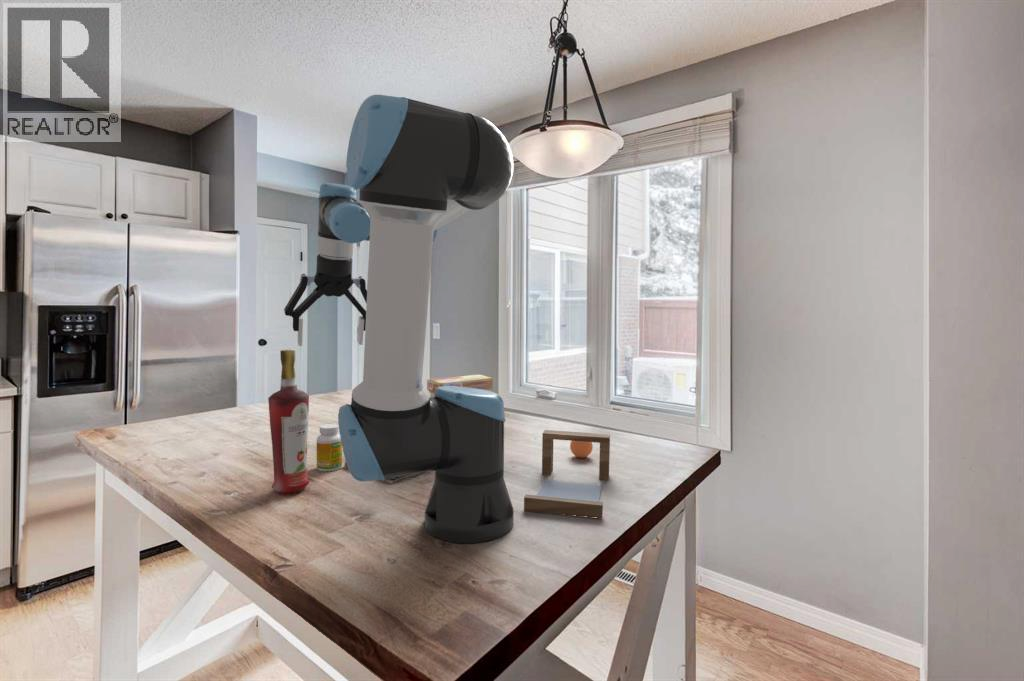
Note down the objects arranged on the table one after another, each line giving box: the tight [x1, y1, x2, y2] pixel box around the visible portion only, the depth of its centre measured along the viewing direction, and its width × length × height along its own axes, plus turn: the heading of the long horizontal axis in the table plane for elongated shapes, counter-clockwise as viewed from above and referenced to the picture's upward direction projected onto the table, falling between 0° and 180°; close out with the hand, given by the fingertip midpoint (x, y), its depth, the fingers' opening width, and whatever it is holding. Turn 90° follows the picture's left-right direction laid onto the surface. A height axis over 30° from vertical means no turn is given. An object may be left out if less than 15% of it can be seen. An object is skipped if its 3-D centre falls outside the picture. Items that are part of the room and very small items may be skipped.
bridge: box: [541, 429, 611, 480], centre depth 109 cm, size 3×14×9 cm, turn 76°
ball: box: [569, 441, 594, 459], centre depth 122 cm, size 6×6×6 cm
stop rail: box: [523, 493, 604, 519], centre depth 89 cm, size 2×14×2 cm, turn 77°
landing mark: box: [536, 479, 603, 502], centre depth 98 cm, size 12×12×1 cm
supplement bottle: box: [316, 423, 343, 473], centre depth 112 cm, size 5×5×10 cm
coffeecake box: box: [426, 374, 493, 398], centre depth 121 cm, size 15×7×20 cm, turn 126°
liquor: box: [267, 349, 310, 496], centre depth 97 cm, size 7×7×28 cm
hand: (330, 343), depth 118 cm, fingers open, 13 cm apart
